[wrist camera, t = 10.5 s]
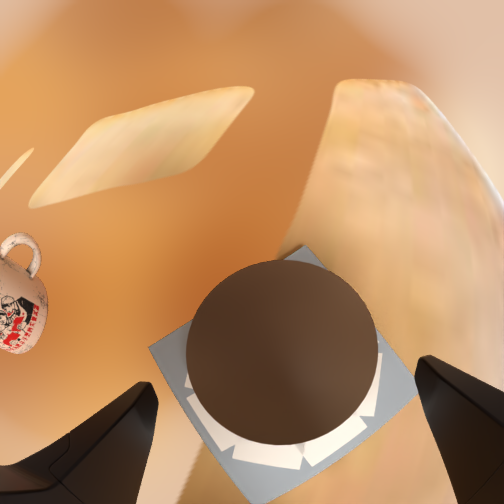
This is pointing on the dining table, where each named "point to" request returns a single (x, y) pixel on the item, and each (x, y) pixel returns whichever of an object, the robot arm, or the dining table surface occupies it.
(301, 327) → the walnut peg
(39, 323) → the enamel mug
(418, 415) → the dining table surface
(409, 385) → the socket plate
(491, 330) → the dining table surface
